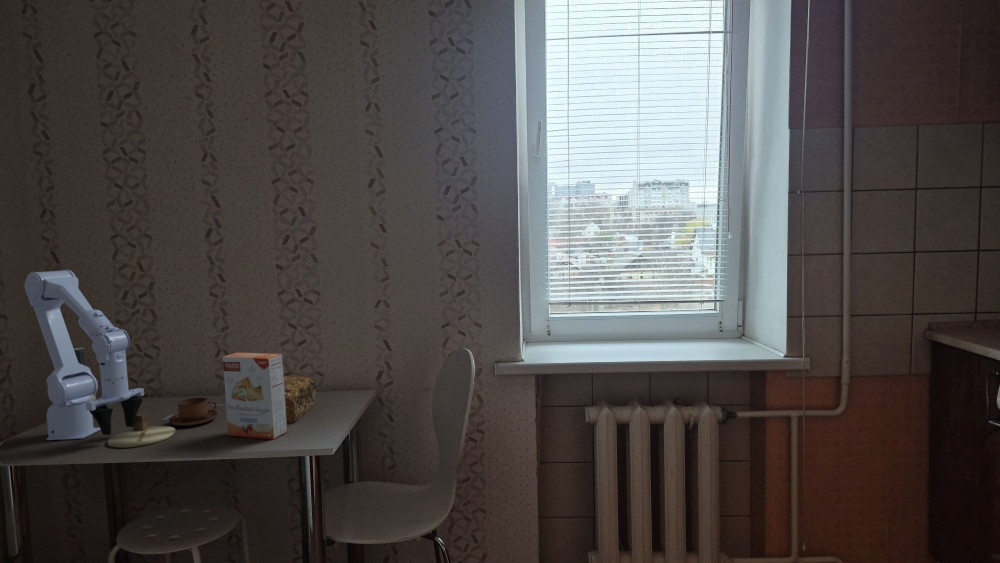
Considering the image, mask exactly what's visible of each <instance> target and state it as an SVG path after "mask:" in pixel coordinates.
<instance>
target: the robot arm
mask: <svg viewBox="0 0 1000 563" xmlns="http://www.w3.org/2000/svg"><path fill="white" fill-rule="evenodd" d="M23 288H24V289H25V294H26V296H27V298H28V302H29V304H30V307H33V310H34V312H35V315H36V319H37V322H38V324H39V328H40V330H41V333H42V336H43V338H44V342H45V344H46V348H47V350H48V353H49V357H50V360H51V362H52V365H53V368H54V370H53V371H52V372H51V373H50V375H48V377H47V378H46V379H45V382H46V384H47V395H48V399H49V401H51V402H52V404H50V406H49V407H48V409H47V412H46V423H47V424H46V425H47V434H48V437H46V441H56V440H58V441H60V440H61V441H62V440H78V439H79V440H80V439H84V438H86V437H89V436H91V435H93V434H95V433H97V432H99V431H101V433H102V435H103V436H110V435H112V414H113V410H114V408H111V407H108V406H110V405H114V404H117V403H120V405H121V407H122V410H123V413H124V415H123V416H124V422H125V426H126V427H127V428H128V427H129V428H133V427H134V425H135V419H136V415H137V414H138V412H139V409H140V407H141V404H142V403H143V396H145V389H144V387H142V388H141V387H137V388H133V389H129V380H128V379H129V378H128V368H127V367H128V366H127V357H126V352H127V351H128V350H129V349H130V347H131V339H130V336H129V334H128V333H127V331H126V330H125V329H122V328H118V327H116V326H114V325H113V323H112V322H111V321H110V320H109V319H108V318H107V317H106V315H105V314H104V313H103V312H102V311H101V310H100V309H94V308H93V307H92V306H91V304H90V303H89V301H88V300H87V298H86V297H85V295H84V294H83V293H82V291H81V290H80V289H79V278H78V277H77V276H76V275H75V273H74V272H73V271H72V270H70V269H64V270H54V271H53V270H51V271H49V270H48V271H31V272H30V273H28V275H27V276H26V278H25V281H24V284H23ZM63 304H65V305H66V306H68V308H70V309H71V310H72V311H73V312H74V314H76V315H77V316H78V325H79V327H80V328H81V329H82V330H83V331H84V333H85V334H86V335H87V336H88V337H89V338H90V340H91V341H92V344H91V349H92V350H93V353H94V354H95V357H96V361H97V362H98V364H99V371H100V383H101V384H100V385H101V393H102V394H101V395H102V396H99V397H96V399H95V400H92V401H91V399H94V396H93V395H95V396H96V394H97V392H98V390H99V384H98V380H97V379H96V376H94V375H92V374H93V372H92V370H91V368H90V366H89V367H87V366H84V365H82V364H80V363H78V360H77V357H76V354H75V351H74V346H73V343H72V340H71V337H70V334H69V331H68V329H67V325H66V323H65V320H64V317H63V314H62V311H61V307H62V305H63ZM91 372H92V373H91ZM68 377H72V378H68ZM93 418H94V419H95V421H96V422H97V425H98V426H99V427H94V419H93Z"/></svg>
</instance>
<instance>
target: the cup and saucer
mask: <svg viewBox="0 0 1000 563" xmlns="http://www.w3.org/2000/svg"><path fill="white" fill-rule="evenodd" d="M210 404H213V405H215V406H213V408H208V405H210ZM217 405H218V403H217V402H216V401H215V400H209V401H208V398H206V397H191V398H187V399H183V400H179V401H178V402H177V409H178V411H177V412H178V414H174V416H172V417H170V418H168V422H169V423H170V424H171V425H173V426H177V427H190V426H197V425H202V424H205V423H208V422H211V421H212V420H214V419H215V418H216V417H217V416H218V411H217V410H216V409H217V408H218V406H217Z"/></svg>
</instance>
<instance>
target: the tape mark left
mask: <svg viewBox="0 0 1000 563" xmlns="http://www.w3.org/2000/svg"><path fill="white" fill-rule="evenodd" d="M173 416H175V414H169V415H167V416H166V417H164V418H162V419H161V421H166V420H169V419H170V418H171V417H173Z"/></svg>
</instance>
